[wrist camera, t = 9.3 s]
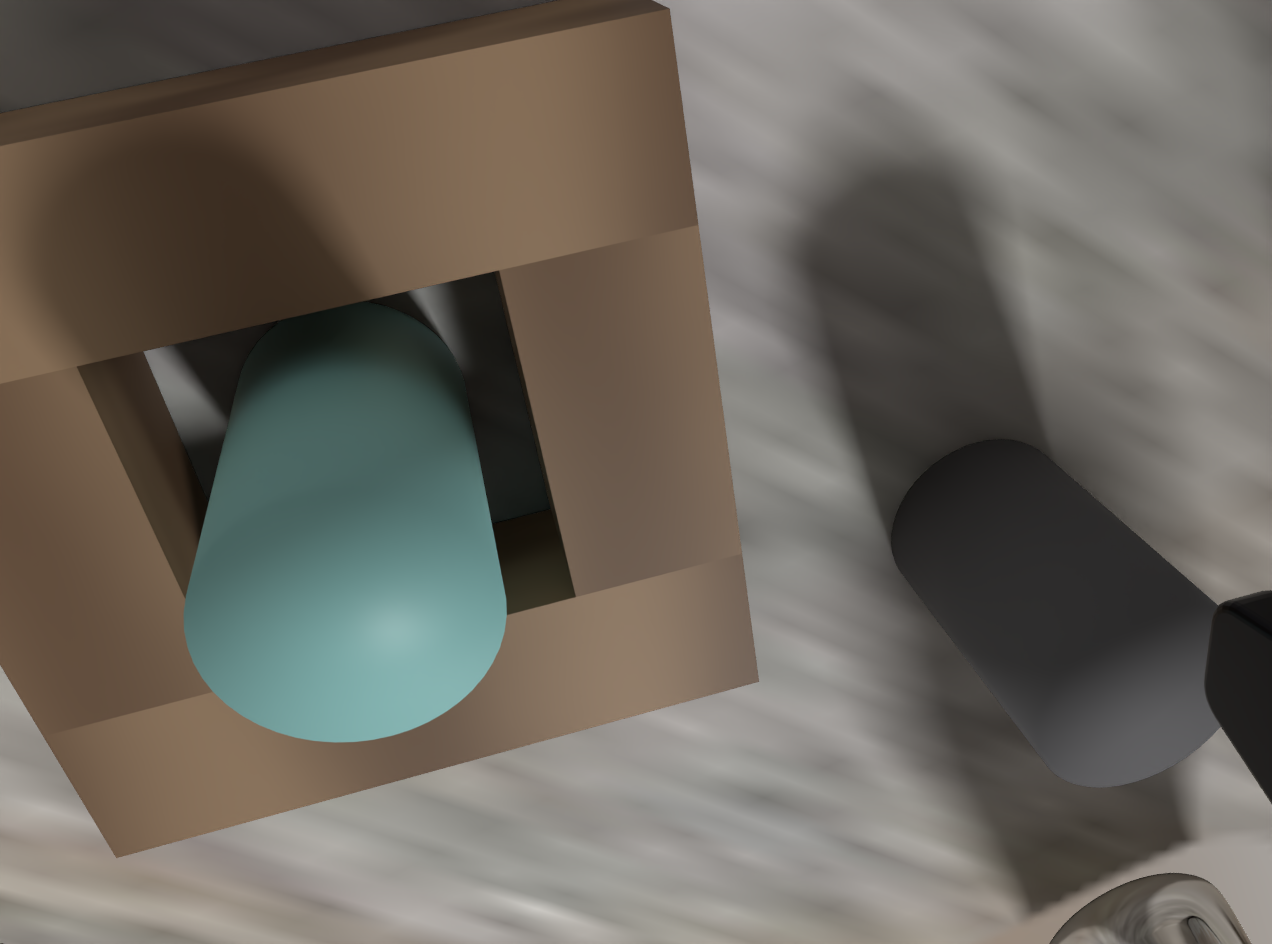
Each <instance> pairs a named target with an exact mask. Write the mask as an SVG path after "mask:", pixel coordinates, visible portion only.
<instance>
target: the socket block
mask: <svg viewBox="0 0 1272 944" xmlns="http://www.w3.org/2000/svg"><path fill="white" fill-rule="evenodd" d="M489 272H495V276H496V280H497V285H498V289H499V293H500V297H501V302H502V306H503V310H504V314H505V318H506V323H507V327H508V331H509V335H510V339H511V344H512V348H513V352H514V356H515V360H516V365H517V369H518V373H519V377H520V382H521V386H522V390H523V394H524V398H525V403H526V407H527V411H528V415H529V419H530V424H531V428H532V432H533V436H534V441H535V445H536V449H537V453H538V457H539V462H540V466H541V470H542V474H543V478H544V483H545V487H546V491H547V495H548V499H549V504H550V508H551V509H550V510H546V511H542V512H538V513H534V514H530V515H526V516H522V517H518V518H514V519H510V520H506V521H502V522H498V523H495V524H492V528H493V533H494V538H495V543H496V549H497V554H498V559H499V564H500V569H501V575H502V580H503V585H504V590H505V595H506V608H507V617H506V625H505V632H504V636H503V639H502V642H501V646H500V649H499V651H498V653H497V655H496V657H495V659H494V661H493V663H492V665H491V666H490V668H489V670H488V671H487V673H486V674H485V676H484V677H483V678H482V680H481V681H480V682H479V683H478V684H477V685H476V687H475V688H474V689H473V690H472V691H471V692H470V693H469V694H468V695H467V696H466V697H464V698H463V699H462V700H461V701H460V702H459V703H457V704H456V705H455V706H453V707H452V708H451V709H449V710H448V711H446V712H445V713H443V714H442V715H440V716H438V717H436V718H435V719H433V720H431V721H429V722H427V723H425V724H423V725H421V726H418V727H416V728H414V729H411V730H408V731H405V732H402V733H399V734H396V735H393V736H388V737H384V738H379V739H375V740H367V741H359V742H322V741H312V740H306V739H301V738H295V737H292V736H288V735H285V734H281V733H278V732H275V731H272V730H270V729H267V728H265V727H263V726H260V725H258V724H256V723H254V722H252V721H251V720H249V719H247V718H245V717H243V716H242V715H240V714H239V713H237V712H236V711H235V710H233V709H232V708H230V707H229V706H228V705H226V704H225V703H224V702H223V701H222V700H221V699H220V698H219V697H218V696H217V695H216V694H215V693H214V692H213V691H212V690H211V689H210V687H209V686H208V685H207V684H206V682H205V681H204V680H203V679H202V677H201V675H200V673H199V672H198V670H197V668H196V667H195V665H194V663H193V660H192V658H191V655H190V653H189V650H188V647H187V642H186V638H185V633H184V606H185V599H186V594H187V590H188V586H189V581H190V577H191V573H192V569H193V565H194V561H195V557H196V553H197V549H198V545H199V541H200V536H201V532H202V528H203V524H204V520H205V516H206V512H207V508H208V501H207V499H206V497H205V494H204V492H203V490H202V487H201V485H200V483H199V480H198V478H197V476H196V474H195V471H194V469H193V467H192V464H191V462H190V460H189V457H188V455H187V453H186V450H185V448H184V446H183V443H182V441H181V439H180V436H179V434H178V432H177V429H176V427H175V425H174V422H173V420H172V418H171V415H170V413H169V411H168V408H167V406H166V404H165V401H164V399H163V397H162V394H161V392H160V390H159V387H158V385H157V383H156V380H155V378H154V376H153V373H152V371H151V369H150V366H149V364H148V362H147V359H146V357H145V355H144V352H143V351H147V350H151V349H155V348H160V347H164V346H169V345H173V344H177V343H182V342H186V341H191V340H195V339H199V338H204V337H208V336H213V335H217V334H221V333H226V332H230V331H234V330H239V329H243V328H248V327H252V326H256V325H261V324H265V323H270V322H274V321H278V320H283V319H287V318H292V317H296V316H300V315H305V314H309V313H314V312H318V311H322V310H327V309H331V308H336V307H340V306H344V305H349V304H353V303H358V302H362V301H366V300H371V299H375V298H380V297H384V296H388V295H393V294H397V293H402V292H406V291H410V290H415V289H419V288H423V287H428V286H432V285H437V284H441V283H445V282H450V281H454V280H459V279H463V278H467V277H472V276H476V275H481V274H485V273H489ZM0 665H1V667H2V669H3V670H4V672H5V674H6V675H7V677H8V679H9V680H10V682H11V684H12V685H13V687H14V689H15V690H16V692H17V694H18V695H19V697H20V699H21V700H22V702H23V703H24V705H25V707H26V708H27V710H28V712H29V713H30V715H31V717H32V718H33V720H34V722H35V723H36V725H37V727H38V728H39V730H40V732H41V733H42V735H43V737H44V738H45V740H46V742H47V743H48V745H49V747H50V748H51V750H52V752H53V753H54V755H55V757H56V758H57V760H58V762H59V763H60V765H61V767H62V768H63V770H64V772H65V773H66V775H67V777H68V778H69V780H70V782H71V783H72V785H73V787H74V788H75V790H76V792H77V793H78V795H79V797H80V798H81V800H82V802H83V803H84V805H85V807H86V808H87V810H88V812H89V813H90V815H91V817H92V818H93V820H94V822H95V823H96V825H97V827H98V828H99V830H100V832H101V833H102V835H103V837H104V838H105V840H106V842H107V843H108V845H109V847H110V848H111V850H112V851H113V853H114V855H115V856H116V858H118V857H122V856H126V855H129V854H133V853H137V852H140V851H144V850H148V849H151V848H155V847H158V846H162V845H166V844H169V843H173V842H177V841H180V840H184V839H188V838H191V837H195V836H199V835H202V834H206V833H209V832H213V831H217V830H220V829H224V828H228V827H231V826H235V825H239V824H242V823H246V822H250V821H253V820H257V819H260V818H264V817H268V816H271V815H275V814H279V813H282V812H286V811H290V810H293V809H297V808H300V807H304V806H308V805H311V804H315V803H319V802H322V801H326V800H330V799H333V798H337V797H341V796H344V795H348V794H351V793H355V792H359V791H362V790H366V789H370V788H373V787H377V786H381V785H384V784H388V783H392V782H395V781H399V780H402V779H406V778H410V777H413V776H417V775H421V774H424V773H428V772H432V771H435V770H439V769H443V768H446V767H450V766H453V765H457V764H461V763H464V762H468V761H472V760H475V759H479V758H483V757H486V756H490V755H493V754H497V753H501V752H504V751H508V750H512V749H515V748H519V747H523V746H526V745H530V744H534V743H537V742H541V741H544V740H548V739H552V738H555V737H559V736H563V735H566V734H570V733H574V732H577V731H581V730H585V729H588V728H592V727H595V726H599V725H603V724H606V723H610V722H614V721H617V720H621V719H625V718H628V717H632V716H636V715H639V714H643V713H646V712H650V711H654V710H657V709H661V708H665V707H668V706H672V705H676V704H679V703H683V702H687V701H690V700H694V699H697V698H701V697H705V696H708V695H712V694H716V693H719V692H723V691H727V690H730V689H734V688H737V687H741V686H745V685H748V684H752V683H756V682H759V678H758V671H757V663H756V656H755V648H754V641H753V633H752V625H751V618H750V610H749V603H748V595H747V588H746V580H745V573H744V565H743V558H742V550H741V543H740V535H739V528H738V520H737V513H736V505H735V497H734V490H733V482H732V475H731V467H730V460H729V452H728V445H727V437H726V430H725V422H724V415H723V407H722V400H721V392H720V385H719V377H718V369H717V362H716V354H715V347H714V339H713V332H712V324H711V317H710V309H709V302H708V294H707V287H706V279H705V272H704V264H703V257H702V249H701V242H700V234H699V226H698V219H697V211H696V204H695V196H694V189H693V181H692V174H691V166H690V159H689V151H688V144H687V136H686V129H685V121H684V114H683V106H682V98H681V91H680V83H679V76H678V68H677V61H676V53H675V46H674V38H673V31H672V23H671V16H670V9H669V8H667V7H665V6H663V5H661V4H659V3H657V2H655V1H652V0H557V1H552V2H547V3H542V4H537V5H533V6H528V7H523V8H518V9H513V10H508V11H503V12H498V13H493V14H488V15H483V16H478V17H473V18H468V19H463V20H458V21H453V22H449V23H444V24H439V25H434V26H429V27H424V28H419V29H414V30H409V31H404V32H399V33H394V34H389V35H384V36H379V37H374V38H369V39H364V40H360V41H355V42H350V43H345V44H340V45H335V46H330V47H325V48H320V49H315V50H310V51H305V52H300V53H295V54H290V55H285V56H280V57H276V58H271V59H266V60H261V61H256V62H251V63H246V64H241V65H236V66H231V67H226V68H221V69H216V70H211V71H206V72H201V73H196V74H192V75H187V76H182V77H177V78H172V79H167V80H162V81H157V82H152V83H147V84H142V85H137V86H132V87H127V88H122V89H117V90H112V91H107V92H103V93H98V94H93V95H88V96H83V97H78V98H73V99H68V100H63V101H58V102H53V103H48V104H43V105H38V106H33V107H28V108H23V109H19V110H14V111H9V112H4V113H0Z"/></svg>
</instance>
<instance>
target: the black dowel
mask: <svg viewBox="0 0 1272 944" xmlns="http://www.w3.org/2000/svg"><path fill="white" fill-rule="evenodd" d="M892 552H893V556H894V559H895V562H896V565H897V567H898V569H899V570H900V572H901V573H902V575H903V576H904V577H905V579H906V580H907V581H908V583H909V584H910V585H911V587H912V588H913V589H914V590H915V592H916V593H917V594H918V596H919V597H920V598H921V600H922V601H923V602H924V604H925V605H926V606H927V608H928V609H929V610H930V612H931V613H932V614H933V616H934V617H935V618H936V620H937V621H938V622H939V624H940V625H941V626H942V628H943V629H944V630H945V632H946V633H947V634H948V635H949V637H950V638H951V639H952V641H953V642H954V643H955V645H956V646H957V647H958V649H959V650H960V651H961V653H962V654H963V655H964V657H965V658H966V659H967V661H968V662H969V663H970V665H971V666H972V667H973V669H974V670H975V671H976V673H977V674H978V675H979V677H980V678H981V679H982V680H983V682H984V683H985V684H986V686H987V687H988V688H989V690H990V691H991V692H992V694H993V695H994V696H995V698H996V699H997V700H998V702H999V703H1000V704H1001V706H1002V707H1003V708H1004V710H1005V711H1006V712H1007V714H1008V715H1009V716H1010V718H1011V719H1012V720H1013V722H1014V723H1015V724H1016V726H1017V727H1018V728H1019V729H1020V731H1021V732H1022V733H1023V735H1024V736H1025V737H1026V739H1027V740H1028V741H1029V743H1030V744H1031V745H1032V747H1033V748H1034V749H1035V751H1036V752H1037V753H1038V755H1039V756H1040V757H1041V759H1042V760H1043V761H1044V763H1045V764H1046V765H1047V767H1048V768H1049V769H1050V770H1051V771H1052V772H1053V773H1054V774H1056V775H1057V776H1058V777H1060V778H1062V779H1063V780H1065V781H1068V782H1070V783H1073V784H1076V785H1081V786H1085V787H1097V788H1098V787H1113V786H1120V785H1125V784H1129V783H1133V782H1137V781H1140V780H1142V779H1145V778H1148V777H1151V776H1153V775H1155V774H1157V773H1160V772H1162V771H1164V770H1166V769H1168V768H1169V767H1171V766H1173V765H1175V764H1176V763H1178V762H1180V761H1181V760H1183V759H1184V758H1186V757H1187V756H1189V755H1190V754H1191V753H1193V752H1194V751H1195V750H1197V749H1198V748H1199V747H1200V746H1201V745H1202V744H1204V743H1205V742H1206V741H1207V740H1208V739H1209V738H1210V737H1211V736H1212V735H1213V734H1214V733H1215V732H1216V731H1217V730H1218V729H1219V728H1220V727H1221V726H1220V724H1219V723H1218V721H1217V720H1216V718H1215V716H1214V715H1213V713H1212V711H1211V709H1210V707H1209V704H1208V702H1207V699H1206V695H1205V689H1204V676H1205V668H1206V660H1207V652H1208V644H1209V636H1210V629H1211V621H1212V616H1213V613H1214V612H1215V610H1216V609H1217V607H1218V605H1217V604H1216V603H1215V602H1213V601H1212V600H1211V599H1210V598H1209V597H1208V596H1207V595H1205V594H1204V593H1203V592H1202V591H1201V590H1200V589H1199V588H1197V587H1196V586H1195V585H1194V584H1193V583H1192V582H1190V581H1189V580H1188V579H1187V578H1186V577H1185V576H1184V575H1182V574H1181V573H1180V572H1179V571H1178V570H1177V569H1176V568H1174V567H1173V566H1172V565H1171V564H1170V563H1169V562H1167V561H1166V560H1165V559H1164V558H1163V557H1162V556H1161V555H1159V554H1158V553H1157V552H1156V551H1155V550H1154V549H1153V548H1151V547H1150V546H1149V545H1148V544H1147V543H1146V542H1145V541H1143V540H1142V539H1141V538H1140V537H1139V536H1138V535H1136V534H1135V533H1134V532H1133V531H1132V530H1131V529H1130V528H1128V527H1127V526H1126V525H1125V524H1124V523H1123V522H1122V521H1120V520H1119V519H1118V518H1117V517H1116V516H1115V515H1113V514H1112V513H1111V512H1110V511H1109V510H1108V509H1107V508H1105V507H1104V506H1103V505H1102V504H1101V503H1100V502H1099V501H1097V500H1096V499H1095V498H1094V497H1093V496H1092V495H1090V494H1089V493H1088V492H1087V491H1086V490H1085V489H1084V488H1082V487H1081V486H1080V485H1079V484H1078V483H1077V482H1076V481H1074V480H1073V479H1072V478H1071V477H1070V476H1069V475H1067V474H1066V473H1065V472H1064V471H1063V470H1062V469H1061V468H1059V467H1058V466H1057V465H1056V464H1055V463H1054V462H1053V461H1051V460H1050V459H1049V458H1048V457H1047V456H1046V455H1044V454H1043V453H1042V452H1041V451H1040V450H1038V449H1036V448H1034V447H1033V446H1031V445H1028V444H1025V443H1023V442H1019V441H1014V440H1002V439H1000V440H988V441H983V442H978V443H975V444H971V445H968V446H965V447H963V448H961V449H959V450H956V451H954V452H952V453H951V454H949V455H947V456H945V457H944V458H942V459H941V460H939V461H938V462H937V463H935V464H934V465H933V466H931V467H930V468H929V469H928V470H927V471H926V472H925V473H923V475H922V476H921V477H920V478H919V479H918V480H917V481H916V482H915V483H914V485H913V486H912V487H911V489H910V490H909V491H908V493H907V494H906V496H905V498H904V499H903V501H902V503H901V505H900V507H899V509H898V512H897V514H896V517H895V521H894V524H893V530H892Z"/></svg>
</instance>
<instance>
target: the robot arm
mask: <svg viewBox="0 0 1272 944" xmlns="http://www.w3.org/2000/svg"><path fill="white" fill-rule="evenodd" d="M1204 689H1205V695H1206V699H1207V702H1208V704H1209V707H1210V709H1211V711H1212V713H1213V715H1214V716H1215V718H1216V720H1217V721H1218V723H1219V724H1220V726H1221V727H1222V729H1223V730H1224V732H1225V733H1226V735H1227V736H1228V738H1229V740H1230V741H1231V743H1232V744H1233V746H1234V747H1235V749H1236V750H1237V752H1238V753H1239V755H1240V756H1241V758H1242V759H1243V761H1244V762H1245V764H1246V765H1247V767H1248V769H1249V770H1250V772H1251V773H1252V775H1253V776H1254V778H1255V779H1256V781H1257V782H1258V784H1259V785H1260V787H1261V788H1262V790H1263V791H1264V793H1265V794H1266V796H1267V798H1268V799H1269V801H1270V802H1271V804H1272V591H1271V590H1270V591H1261V592H1257V593H1253V594H1250V595H1246V596H1243V597H1239V598H1235V599H1232V600H1228V601H1225V602H1223V603H1221V604H1220V605H1219V606H1218V607H1217V609H1216V610H1215V612H1214V613H1213V616H1212V621H1211V629H1210V636H1209V644H1208V652H1207V660H1206V668H1205V676H1204ZM1 944H3V943H1Z"/></svg>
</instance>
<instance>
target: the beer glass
mask: <svg viewBox="0 0 1272 944" xmlns="http://www.w3.org/2000/svg"><path fill="white" fill-rule="evenodd" d="M1050 944H1252V943H1251V941H1250V940H1249V938H1248V936H1247V934H1246V933H1245V931H1244V929H1243V927H1242V926H1241V924H1240V922H1239V920H1238V919H1237V917H1236V915H1235V914H1234V912H1233V910H1232V908H1231V907H1230V905H1229V904H1228V902H1227V901H1226V899H1225V898H1224V896H1223V895H1222V894H1221V892H1220V891H1219V890H1218V889H1217V888H1216V887H1215V886H1213V885H1212V884H1211V883H1210V882H1208V881H1206V880H1205V879H1202V878H1200V877H1197V876H1194V875H1189V874H1182V873H1166V874H1157V875H1151V876H1147V877H1143V878H1139V879H1136V880H1133V881H1130V882H1128V883H1125V884H1123V885H1120V886H1118V887H1116V888H1114V889H1112V890H1110V891H1108V892H1106V893H1104V894H1102V895H1101V896H1099V897H1097V898H1096V899H1094V900H1093V901H1091V902H1090V903H1088V904H1087V905H1086V906H1084V907H1083V908H1082V909H1080V910H1079V911H1078V912H1077V913H1075V914H1074V915H1073V916H1072V917H1071V918H1070V919H1069V920H1068V921H1067V922H1066V923H1065V924H1064V925H1063V926H1062V927H1061V929H1060V930H1059V931H1058V932H1057V933H1056V935H1055V936H1054V937H1053V939H1052V940H1051V942H1050Z"/></svg>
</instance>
